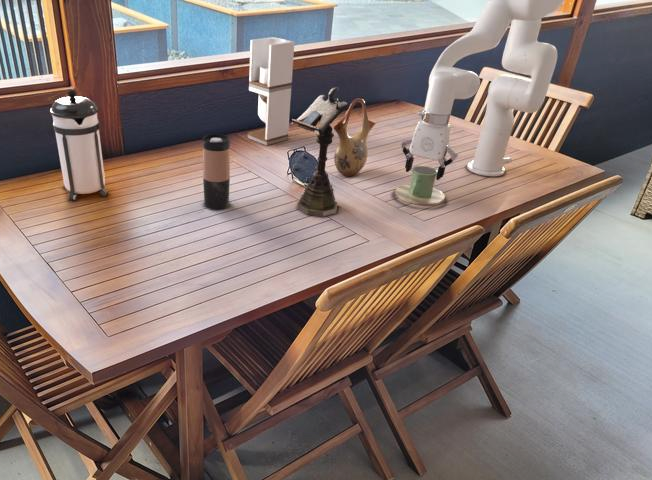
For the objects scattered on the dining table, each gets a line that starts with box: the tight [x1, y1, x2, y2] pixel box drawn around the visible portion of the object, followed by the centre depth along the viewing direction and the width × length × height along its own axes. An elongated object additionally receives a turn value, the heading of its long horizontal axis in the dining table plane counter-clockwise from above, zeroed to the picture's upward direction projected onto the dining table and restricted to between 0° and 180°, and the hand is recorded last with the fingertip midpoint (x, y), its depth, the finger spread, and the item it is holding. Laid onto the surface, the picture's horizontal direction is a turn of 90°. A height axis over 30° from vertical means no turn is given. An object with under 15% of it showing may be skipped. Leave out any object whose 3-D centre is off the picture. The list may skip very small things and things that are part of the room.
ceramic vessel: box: [333, 97, 376, 177], centre depth 185 cm, size 16×9×25 cm, turn 121°
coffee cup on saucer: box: [394, 165, 446, 207], centre depth 175 cm, size 15×15×8 cm
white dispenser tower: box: [247, 36, 296, 146], centre depth 210 cm, size 11×11×35 cm
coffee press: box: [49, 89, 109, 201], centre depth 165 cm, size 17×16×30 cm
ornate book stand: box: [290, 86, 349, 217], centre depth 157 cm, size 17×13×35 cm
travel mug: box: [202, 133, 231, 211], centre depth 163 cm, size 8×8×20 cm
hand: (423, 174), depth 173 cm, fingers open, 9 cm apart
